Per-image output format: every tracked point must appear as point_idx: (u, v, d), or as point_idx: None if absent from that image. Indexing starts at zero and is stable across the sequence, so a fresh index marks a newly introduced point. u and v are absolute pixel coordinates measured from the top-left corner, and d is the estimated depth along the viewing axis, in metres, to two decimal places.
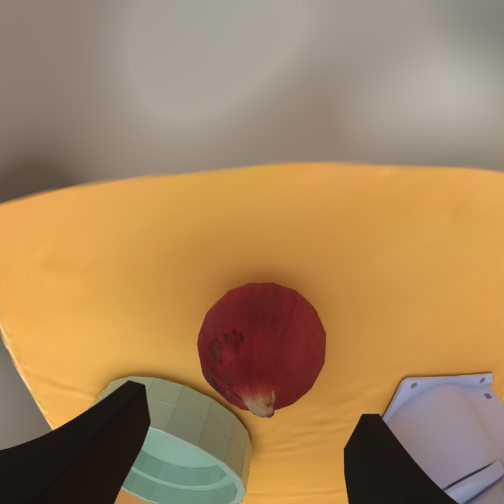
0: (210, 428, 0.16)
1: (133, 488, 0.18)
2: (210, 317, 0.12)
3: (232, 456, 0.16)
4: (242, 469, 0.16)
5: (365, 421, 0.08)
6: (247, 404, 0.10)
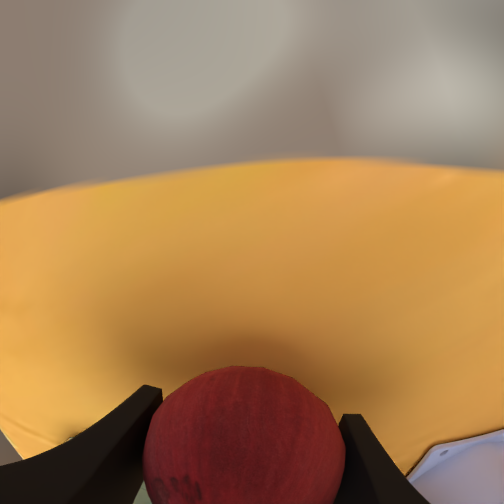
0: None
1: None
2: (154, 433, 0.06)
3: None
4: None
5: (345, 421, 0.08)
6: None
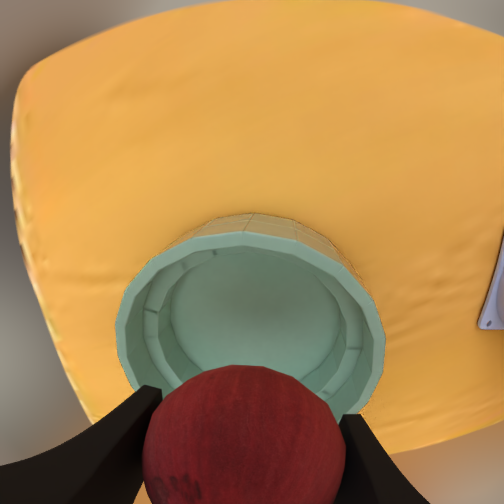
0: (342, 259, 0.13)
1: None
2: (153, 431, 0.06)
3: None
4: None
5: (345, 421, 0.08)
6: None
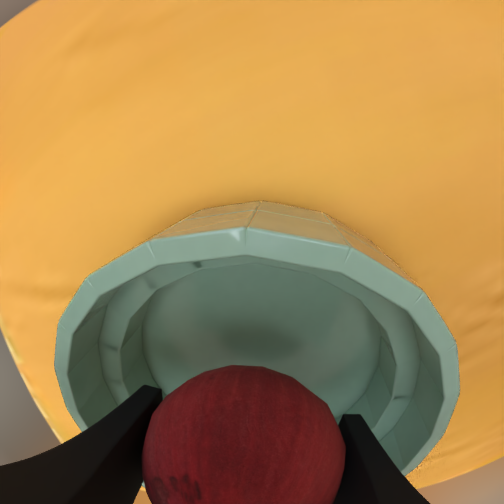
0: None
1: None
2: (153, 432, 0.06)
3: None
4: None
5: (345, 421, 0.08)
6: None
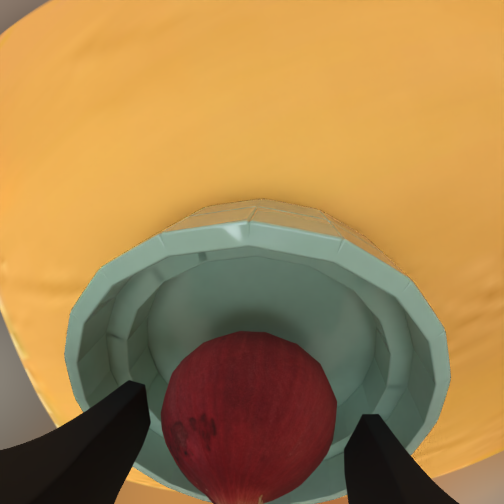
0: None
1: (176, 477, 0.10)
2: (174, 385, 0.08)
3: None
4: None
5: (365, 421, 0.08)
6: None
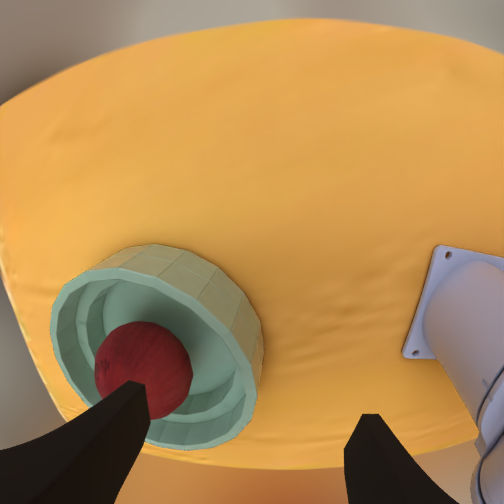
0: (214, 290, 0.15)
1: None
2: (100, 346, 0.15)
3: (241, 332, 0.14)
4: (253, 357, 0.15)
5: (365, 421, 0.08)
6: None
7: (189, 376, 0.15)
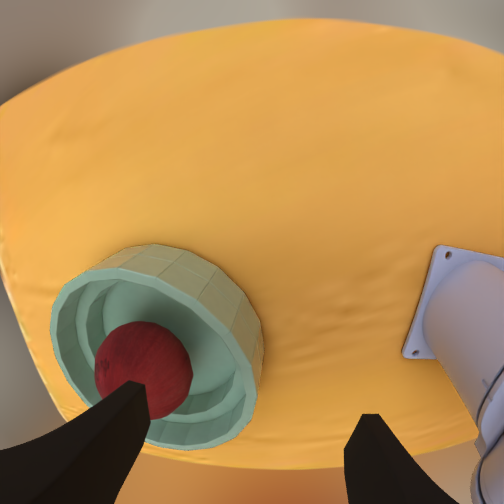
0: (214, 290, 0.15)
1: None
2: (100, 346, 0.15)
3: (241, 332, 0.14)
4: (253, 357, 0.15)
5: (365, 421, 0.08)
6: None
7: (189, 376, 0.15)
